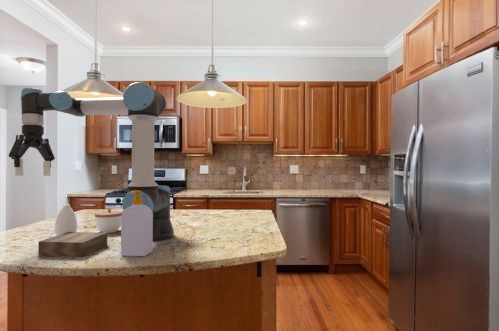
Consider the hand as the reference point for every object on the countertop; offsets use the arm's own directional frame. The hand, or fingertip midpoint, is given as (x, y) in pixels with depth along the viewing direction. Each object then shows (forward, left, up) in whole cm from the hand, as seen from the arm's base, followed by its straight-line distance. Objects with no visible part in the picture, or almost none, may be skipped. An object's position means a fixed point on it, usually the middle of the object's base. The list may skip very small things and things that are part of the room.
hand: (33, 175), depth 125 cm
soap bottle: (-51, +14, -28) cm, 60 cm away
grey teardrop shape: (-14, -1, -28) cm, 31 cm away
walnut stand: (-26, +11, -27) cm, 39 cm away
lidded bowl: (-21, -22, -28) cm, 41 cm away
